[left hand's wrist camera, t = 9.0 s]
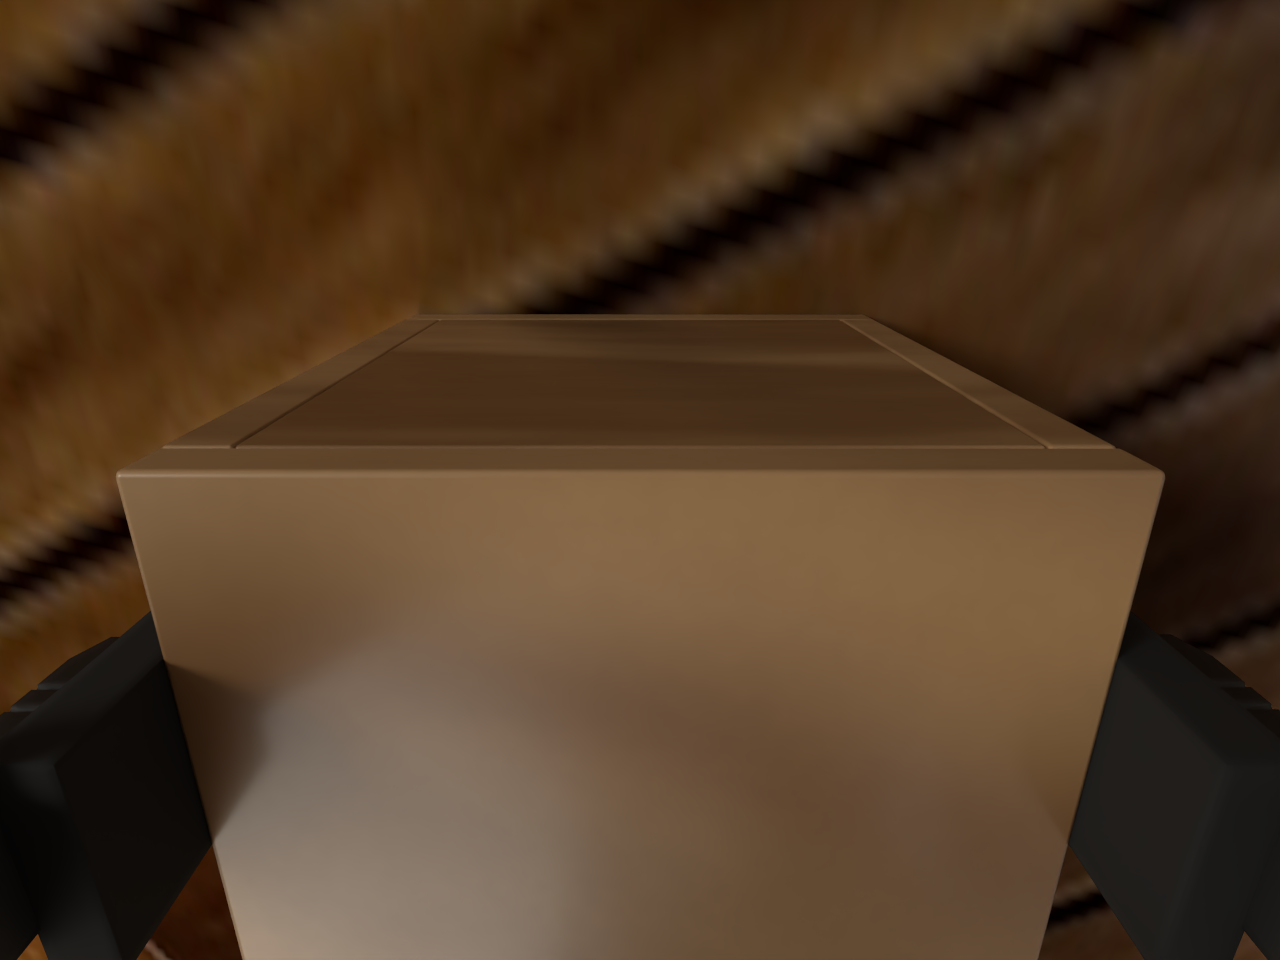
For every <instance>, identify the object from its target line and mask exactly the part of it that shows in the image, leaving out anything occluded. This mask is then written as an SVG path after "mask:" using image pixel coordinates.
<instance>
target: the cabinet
mask: <svg viewBox="0 0 1280 960" xmlns="http://www.w3.org/2000/svg"><path fill="white" fill-rule="evenodd" d="M116 480H117V484H118V488H119V491H120V495H121V499H122V503H123V507H124V510H125V514H126V518H127V522H128V526H129V529H130V533H131V537H132V541H133V544H134V548H135V552H136V556H137V560H138V563H139V567H140V571H141V575H142V579H143V582H144V586H145V590H146V594H147V598H148V601H149V605H150V609H151V613H152V617H153V620H154V624H155V628H156V632H157V636H158V639H159V643H160V647H161V651H162V655H163V658H164V662H165V666H166V670H167V674H168V677H169V681H170V685H171V689H172V693H173V696H174V700H175V704H176V708H177V712H178V715H179V719H180V723H181V727H182V731H183V734H184V738H185V742H186V746H187V750H188V753H189V757H190V761H191V765H192V768H193V772H194V776H195V780H196V784H197V787H198V791H199V795H200V799H201V803H202V806H203V810H204V814H205V818H206V822H207V825H208V829H209V833H210V837H211V841H212V844H213V848H214V852H215V856H216V860H217V863H218V867H219V871H220V875H221V879H222V882H223V886H224V890H225V894H226V898H227V901H228V905H229V909H230V913H231V917H232V920H233V924H234V928H235V932H236V936H237V939H238V943H239V947H240V951H241V955H242V958H243V960H1038V957H1039V953H1040V949H1041V945H1042V942H1043V938H1044V934H1045V930H1046V927H1047V923H1048V919H1049V915H1050V911H1051V908H1052V904H1053V900H1054V896H1055V893H1056V889H1057V885H1058V881H1059V878H1060V874H1061V870H1062V866H1063V862H1064V859H1065V855H1066V851H1067V847H1068V844H1069V840H1070V836H1071V832H1072V828H1073V825H1074V821H1075V817H1076V813H1077V810H1078V806H1079V802H1080V798H1081V794H1082V791H1083V787H1084V783H1085V779H1086V776H1087V772H1088V768H1089V764H1090V761H1091V757H1092V753H1093V749H1094V745H1095V742H1096V738H1097V734H1098V730H1099V727H1100V723H1101V719H1102V715H1103V711H1104V708H1105V704H1106V700H1107V696H1108V693H1109V689H1110V685H1111V681H1112V677H1113V674H1114V670H1115V666H1116V662H1117V659H1118V655H1119V651H1120V647H1121V644H1122V640H1123V636H1124V632H1125V628H1126V625H1127V621H1128V617H1129V613H1130V610H1131V606H1132V602H1133V598H1134V594H1135V591H1136V587H1137V583H1138V579H1139V576H1140V572H1141V568H1142V564H1143V560H1144V557H1145V553H1146V549H1147V545H1148V542H1149V538H1150V534H1151V530H1152V526H1153V523H1154V519H1155V515H1156V511H1157V508H1158V504H1159V500H1160V496H1161V493H1162V489H1163V485H1164V481H1165V473H1164V472H1163V471H1162V470H1160V469H1158V468H1156V467H1154V466H1152V465H1151V464H1149V463H1147V462H1145V461H1143V460H1141V459H1139V458H1137V457H1135V456H1133V455H1131V454H1130V453H1128V452H1126V451H1124V450H1121V449H1116V448H1115V446H1113V445H1111V444H1110V443H1108V442H1106V441H1104V440H1102V439H1100V438H1098V437H1096V436H1094V435H1092V434H1090V433H1089V432H1087V431H1085V430H1083V429H1081V428H1079V427H1077V426H1075V425H1073V424H1071V423H1069V422H1068V421H1066V420H1064V419H1062V418H1060V417H1058V416H1056V415H1054V414H1052V413H1050V412H1048V411H1047V410H1045V409H1043V408H1041V407H1039V406H1037V405H1035V404H1033V403H1031V402H1029V401H1027V400H1026V399H1024V398H1022V397H1020V396H1018V395H1016V394H1014V393H1012V392H1010V391H1008V390H1006V389H1005V388H1003V387H1001V386H999V385H997V384H995V383H993V382H991V381H989V380H987V379H985V378H984V377H982V376H980V375H978V374H976V373H974V372H972V371H970V370H968V369H966V368H964V367H963V366H961V365H959V364H957V363H955V362H953V361H951V360H949V359H947V358H945V357H943V356H942V355H940V354H938V353H936V352H934V351H932V350H930V349H928V348H926V347H924V346H922V345H921V344H919V343H917V342H915V341H913V340H911V339H909V338H907V337H905V336H903V335H901V334H899V333H898V332H896V331H894V330H892V329H890V328H888V327H886V326H884V325H882V324H880V323H878V322H877V321H874V320H873V319H871V318H869V317H867V316H865V315H586V314H417V315H415V316H413V317H411V318H409V319H406V320H404V321H402V322H400V323H398V324H396V325H394V326H392V327H391V328H389V329H387V330H385V331H383V332H381V333H379V334H377V335H375V336H373V337H371V338H369V339H367V340H366V341H364V342H362V343H360V344H358V345H356V346H354V347H352V348H350V349H348V350H346V351H344V352H343V353H341V354H339V355H337V356H335V357H333V358H331V359H329V360H327V361H325V362H323V363H321V364H320V365H318V366H316V367H314V368H312V369H310V370H308V371H306V372H304V373H302V374H300V375H298V376H297V377H295V378H293V379H291V380H289V381H287V382H285V383H283V384H281V385H279V386H277V387H275V388H274V389H272V390H270V391H268V392H266V393H264V394H262V395H260V396H258V397H256V398H254V399H252V400H251V401H249V402H247V403H245V404H243V405H241V406H239V407H237V408H235V409H233V410H231V411H229V412H228V413H226V414H224V415H222V416H220V417H218V418H216V419H214V420H212V421H210V422H208V423H206V424H205V425H203V426H201V427H199V428H197V429H195V430H193V431H191V432H189V433H187V434H185V435H183V436H182V437H180V438H178V439H176V440H174V441H172V442H170V443H168V444H166V445H164V446H163V448H161V449H159V450H157V451H155V452H153V453H151V454H149V455H147V456H145V457H143V458H142V459H140V460H138V461H136V462H134V463H132V464H130V465H128V466H126V467H124V468H122V469H121V470H119V471H118V472H117V474H116Z"/></svg>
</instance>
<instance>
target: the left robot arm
mask: <svg viewBox="0 0 1280 960" xmlns="http://www.w3.org/2000/svg"><path fill="white" fill-rule="evenodd" d="M211 845H212V841H211V837H210V833H209V829H208V825H207V822H206V818H205V814H204V810H203V806H202V803H201V799H200V795H199V791H198V787H197V784H196V780H195V776H194V772H193V768H192V765H191V761H190V757H189V753H188V750H187V746H186V742H185V738H184V734H183V731H182V727H181V723H180V719H179V715H178V712H177V708H176V704H175V700H174V696H173V693H172V689H171V685H170V681H169V677H168V674H167V670H166V666H165V662H164V658H163V655H162V651H161V647H160V643H159V639H158V636H157V632H156V628H155V624H154V620H153V617H152V613H151V611H150V612H149V613H148V614H147V615H145V616H144V617H143V618H142V619H141V620H139V621H138V622H137V623H136V624H135V625H134V626H132V627H131V628H130V629H129V630H128V631H127V632H125V633H124V634H123V635H122V636H121V637H110V638H108V639H107V640H105V641H103V642H101V643H99V644H97V645H95V646H93V647H91V648H89V649H87V650H86V651H84V652H82V653H80V654H78V655H76V656H74V657H72V658H70V659H69V660H67V661H66V662H65V663H64V664H63V665H61V666H60V667H59V668H58V669H56V670H55V671H54V672H53V673H52V674H50V675H49V676H48V677H47V678H45V679H44V680H43V681H42V682H41V683H39V684H38V688H37V690H31V691H30V692H28V693H27V694H26V695H25V696H23V697H22V698H21V699H20V700H19V701H17V702H16V703H15V704H14V705H12V706H11V711H10V712H4V713H3V714H1V715H0V960H17V959H18V957H19V956H20V955H21V954H22V952H23V951H24V950H25V949H26V948H27V946H28V945H29V944H30V943H31V941H32V940H33V939H34V938H35V936H36V935H37V934H38V935H39V937H40V940H41V942H42V945H43V947H44V950H45V952H46V955H47V957H48V960H136V959H137V958H138V956H139V955H140V953H141V951H142V950H143V948H144V947H145V945H146V944H147V942H148V941H149V939H150V938H151V936H152V935H153V933H154V932H155V930H156V929H157V927H158V926H159V924H160V923H161V921H162V920H163V918H164V916H165V915H166V913H167V912H168V910H169V909H170V907H171V906H172V904H173V903H174V901H175V900H176V898H177V897H178V895H179V894H180V892H181V891H182V889H183V888H184V886H185V884H186V883H187V881H188V880H189V878H190V877H191V875H192V874H193V872H194V871H195V869H196V868H197V866H198V865H199V863H200V862H201V860H202V859H203V857H204V856H205V854H206V853H207V851H208V849H209V848H210V846H211ZM1069 845H1070V847H1071V848H1072V850H1073V851H1074V853H1075V854H1076V856H1077V857H1078V859H1079V860H1080V862H1081V863H1082V865H1083V866H1084V868H1085V870H1086V871H1087V873H1088V874H1089V876H1090V877H1091V879H1092V880H1093V882H1094V883H1095V885H1096V886H1097V888H1098V889H1099V891H1100V892H1101V894H1102V895H1103V897H1104V898H1105V900H1106V901H1107V903H1108V905H1109V906H1110V908H1111V909H1112V911H1113V912H1114V914H1115V915H1116V917H1117V918H1118V920H1119V921H1120V923H1121V924H1122V926H1123V927H1124V929H1125V930H1126V932H1127V933H1128V935H1129V936H1130V938H1131V940H1132V941H1133V943H1134V944H1135V946H1136V947H1137V949H1138V950H1139V952H1140V953H1141V955H1142V956H1143V958H1144V959H1145V960H1233V958H1234V955H1235V953H1236V950H1237V948H1238V945H1239V943H1240V940H1241V938H1242V935H1243V933H1244V931H1245V932H1246V934H1247V935H1248V936H1249V937H1250V938H1251V940H1252V941H1253V942H1254V943H1255V945H1256V946H1257V947H1258V948H1259V949H1260V951H1261V952H1262V953H1263V954H1264V956H1265V957H1266V958H1267V959H1268V960H1280V711H1279V710H1273V709H1272V708H1271V703H1269V702H1268V701H1267V700H1266V699H1264V698H1263V697H1262V696H1261V695H1260V694H1258V693H1257V692H1256V691H1255V690H1253V689H1252V688H1251V687H1245V685H1244V681H1242V680H1241V679H1240V678H1239V677H1237V676H1236V675H1235V674H1234V673H1232V672H1231V671H1230V670H1229V669H1227V668H1226V667H1225V666H1224V665H1223V664H1221V663H1220V662H1219V661H1218V660H1216V659H1215V658H1214V657H1213V656H1211V655H1209V654H1207V653H1205V652H1203V651H1201V650H1199V649H1197V648H1195V647H1193V646H1192V645H1190V644H1188V643H1186V642H1184V641H1182V640H1180V639H1178V638H1176V637H1174V636H1172V635H1158V634H1157V633H1155V632H1154V631H1153V630H1152V629H1151V628H1150V627H1148V626H1147V625H1146V624H1145V623H1144V622H1143V621H1141V620H1140V619H1139V618H1138V617H1137V616H1136V615H1134V614H1133V613H1132V612H1131V611H1130V613H1129V617H1128V621H1127V625H1126V628H1125V632H1124V636H1123V640H1122V644H1121V647H1120V651H1119V655H1118V659H1117V662H1116V666H1115V670H1114V674H1113V677H1112V681H1111V685H1110V689H1109V693H1108V696H1107V700H1106V704H1105V708H1104V711H1103V715H1102V719H1101V723H1100V727H1099V730H1098V734H1097V738H1096V742H1095V745H1094V749H1093V753H1092V757H1091V761H1090V764H1089V768H1088V772H1087V776H1086V779H1085V783H1084V787H1083V791H1082V794H1081V798H1080V802H1079V806H1078V810H1077V813H1076V817H1075V821H1074V825H1073V828H1072V832H1071V836H1070V840H1069Z"/></svg>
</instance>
